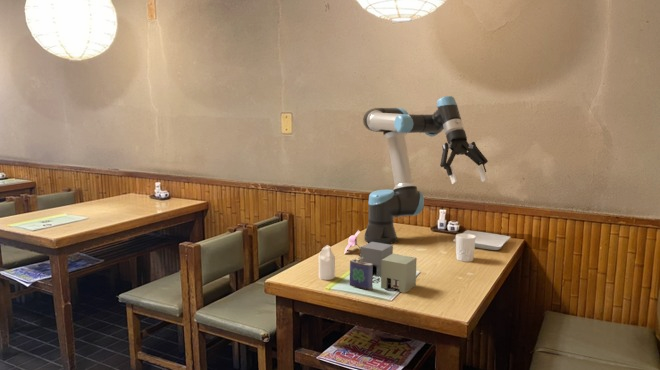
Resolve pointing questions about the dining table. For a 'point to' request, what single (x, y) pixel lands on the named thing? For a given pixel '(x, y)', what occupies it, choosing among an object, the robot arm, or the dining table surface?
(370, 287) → the flask
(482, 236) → the salad plate
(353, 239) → the lily
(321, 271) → the white bottle
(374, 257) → the slate cover
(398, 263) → the olive cover
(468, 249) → the white cup
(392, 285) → the letter cube
